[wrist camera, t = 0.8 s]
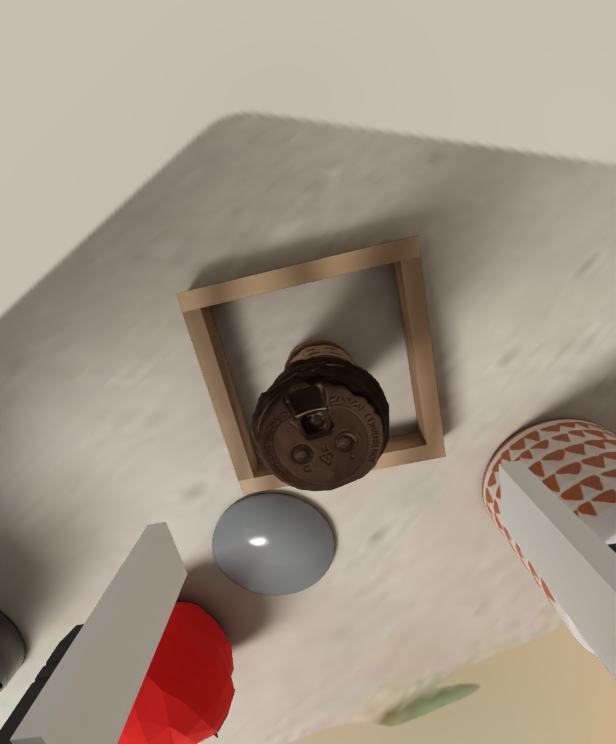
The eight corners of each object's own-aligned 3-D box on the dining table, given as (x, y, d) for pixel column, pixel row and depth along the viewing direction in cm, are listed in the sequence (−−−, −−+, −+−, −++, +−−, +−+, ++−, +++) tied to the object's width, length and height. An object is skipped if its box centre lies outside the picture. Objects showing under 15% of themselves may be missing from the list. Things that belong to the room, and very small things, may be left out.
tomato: (153, 572, 43) (216, 637, 47) (51, 694, 34) (139, 763, 38) (206, 592, 35) (278, 669, 38) (89, 759, 26) (197, 840, 29)
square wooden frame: (247, 478, 35) (242, 494, 33) (187, 291, 30) (176, 293, 27) (436, 442, 33) (445, 456, 31) (408, 237, 28) (417, 235, 26)
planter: (638, 499, 35) (811, 625, 23) (510, 554, 37) (604, 694, 25) (596, 390, 32) (772, 469, 20) (457, 457, 34) (537, 565, 22)
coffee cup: (292, 310, 30) (277, 343, 18) (380, 343, 31) (426, 397, 18) (261, 398, 32) (228, 481, 20) (343, 426, 33) (361, 524, 21)
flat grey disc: (233, 598, 40) (232, 603, 39) (197, 505, 36) (195, 509, 36) (344, 580, 39) (344, 585, 38) (319, 482, 35) (319, 486, 34)
